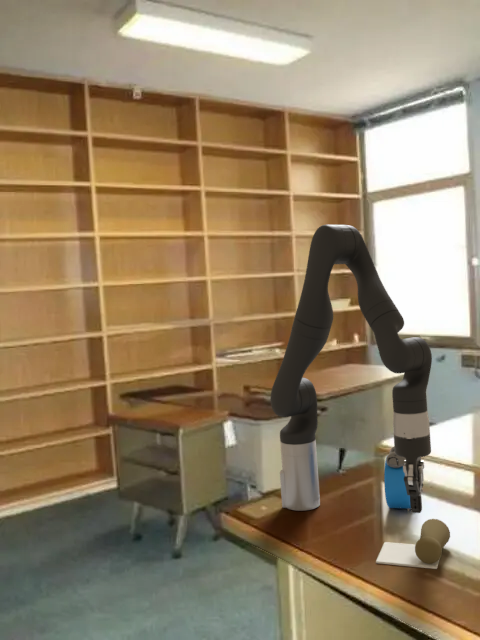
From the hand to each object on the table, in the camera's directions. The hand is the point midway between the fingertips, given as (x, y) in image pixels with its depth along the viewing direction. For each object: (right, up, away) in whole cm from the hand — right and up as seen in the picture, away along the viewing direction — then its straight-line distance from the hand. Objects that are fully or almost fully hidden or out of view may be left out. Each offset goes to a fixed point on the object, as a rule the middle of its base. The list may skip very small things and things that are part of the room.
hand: (416, 511), depth 140 cm
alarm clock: (+3, -6, +24) cm, 25 cm away
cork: (+4, -4, 0) cm, 6 cm away
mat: (-3, -8, -4) cm, 9 cm away
